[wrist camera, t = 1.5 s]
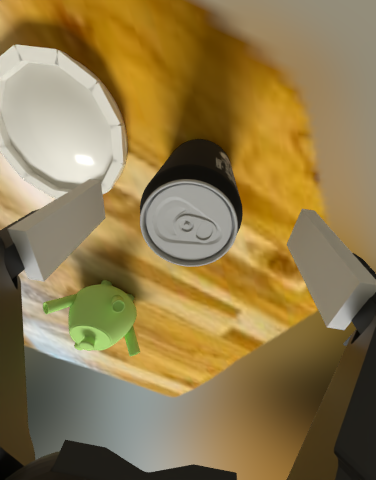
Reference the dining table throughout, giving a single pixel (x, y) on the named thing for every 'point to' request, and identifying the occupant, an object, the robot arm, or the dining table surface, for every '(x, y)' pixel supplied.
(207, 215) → the beverage can
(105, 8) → the dining table surface
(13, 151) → the saucer
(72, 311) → the green rounded body
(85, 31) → the dining table surface
